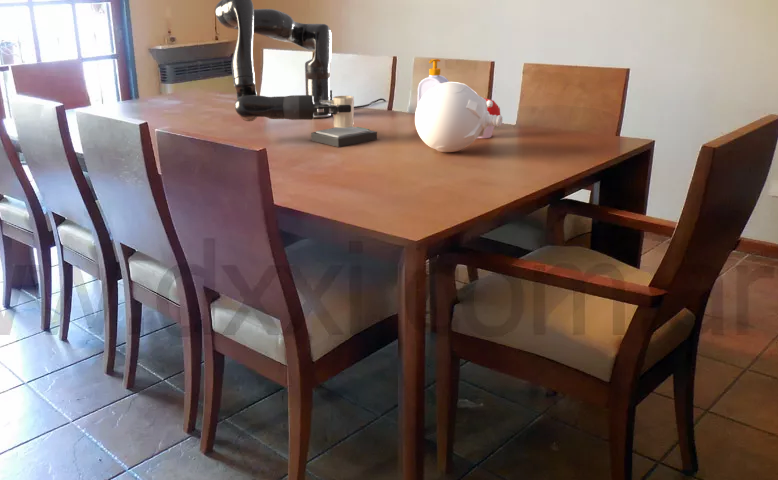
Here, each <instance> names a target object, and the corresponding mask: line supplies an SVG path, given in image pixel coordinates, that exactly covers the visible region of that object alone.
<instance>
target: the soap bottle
mask: <svg viewBox="0 0 778 480" xmlns="http://www.w3.org/2000/svg"><path fill="white" fill-rule="evenodd" d="M439 62H440V63H441V60H440V59H438V58H431V59H430V60H428V64H432V67H430V68H429V69H428V71H429V72H428V73H429V75H428V76H427V77H425V78H423V79H421V80H420V82H419V83H418V85H417V97H416V98H417V102H416V103H417V104H416V107H417V106H418V103H419V101H420V100H421V98H422V97H423V95H424V94H425V93H426V92H427V91H428V90H429V89H431V88H432V87H435V86H437V85H438V84H441V83H445V82H450V81H449V79H448V78H446V76H444V75H441V68H440V67H438V63H439Z"/></svg>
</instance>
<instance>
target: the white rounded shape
mask: <svg viewBox="0 0 778 480" xmlns="http://www.w3.org/2000/svg"><path fill="white" fill-rule="evenodd" d="M484 98H485V97H482V96H481V95H479V94H478V93H477V92H476V91H475V90H474V89H473V88H472V87H470V86H468V85H467V84H465V83H462V82H457V81H449V82H445V83H441V84H438V85H437V86H435V87H432V88H431V89H429V90H428V91H427V92H426V93H425V94H424V95H423V97H422V98H421V100H420V101H419V103H418V106H417V105H416V108H415V114H414V125H415V129H416V132H417V134H418V136H419V138H420V139H421V140H422V142H423V143H424V144H425V145H426V146H428V147H430V148H431V149H434V150H435V151H438V152H441V153H442V152H443V153H455V152H459V151H462V150H464V149H465V148H467V147H470V145H472V144H473V143H474V142H475V141H476V140H477V139H478V138H477V137H480V136H483V135H484V132H485V129H486V128H487V127H488V126H489V125H490V126H494V128H497V127H498V128H500V127H501V126H502V125H503V116H502V115H501V114H500V115H498V116H497V115H490V114H489V112H488V111H487V102H486V100H485V99H484Z"/></svg>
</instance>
